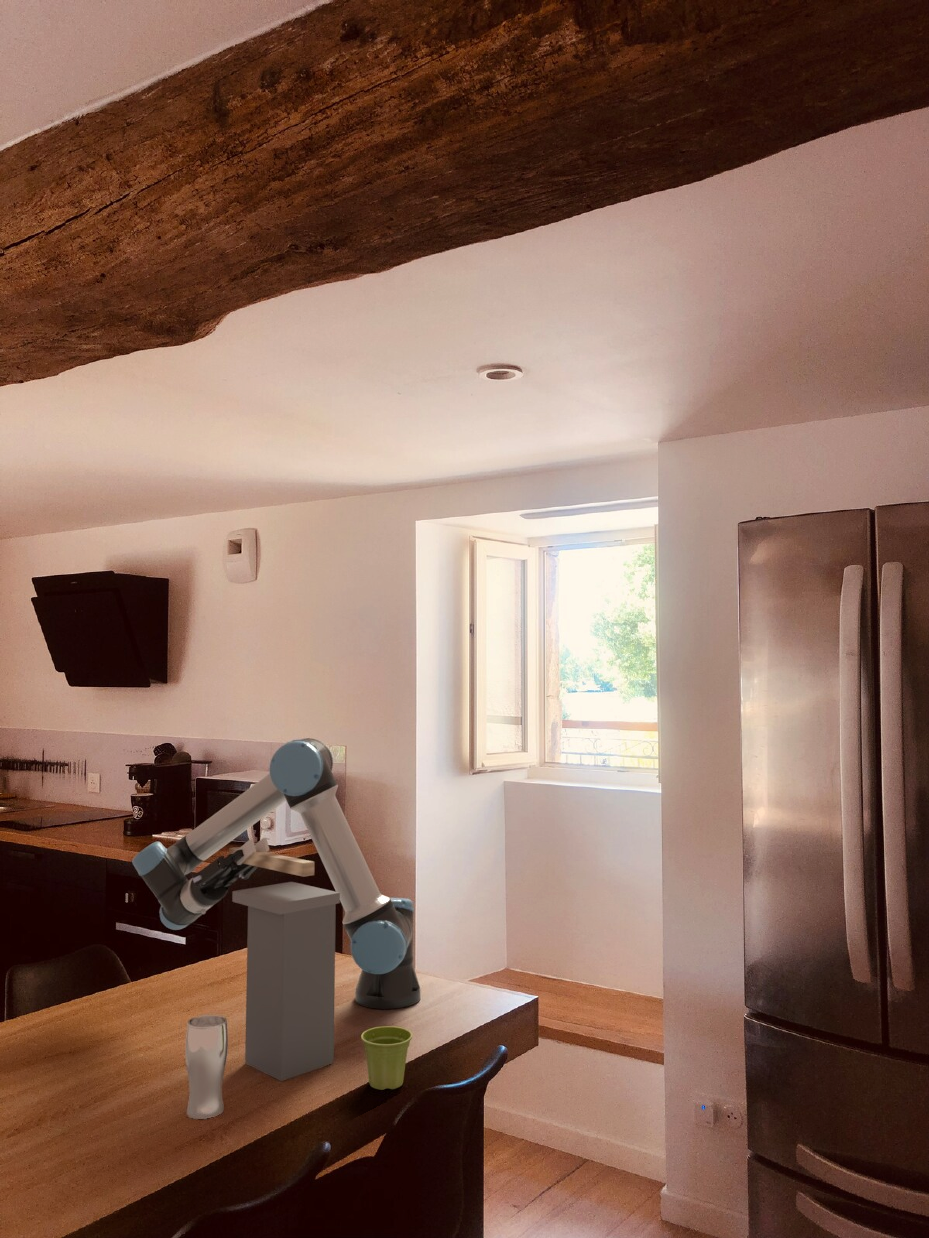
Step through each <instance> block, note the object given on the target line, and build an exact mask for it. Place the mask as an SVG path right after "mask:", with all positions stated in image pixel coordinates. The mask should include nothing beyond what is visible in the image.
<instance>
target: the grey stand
mask: <svg viewBox="0 0 929 1238" xmlns="http://www.w3.org/2000/svg"><path fill="white" fill-rule="evenodd" d="M231 902H233V903H236V904H240V905H243V906H247V940H246V941H247V943H246V944H247V945H246V948H247V950H246V954H247V955H246V992H245V993H246V994H245V995H246V1000H245V1003H246V1004H245V1046H244V1047H245V1048H244V1050H245V1052H244V1054H245V1055H244V1064H245V1065H246V1066H249V1067H251V1068H254V1069H255V1070H258V1071H259V1072H262V1073H263V1074H266V1075H268V1076H270V1077H273V1078H274V1079H276V1080H278V1081H280V1082H282V1081H283V1082H284V1081H286V1080H289V1079H292V1078H295V1077H298V1076H301V1075H303V1074H307V1073H309V1072H313V1071H316V1070H318V1068H319V1069H321V1068H325V1067H327V1065H328V1066H330V1065H329V1064H331V1065H333V1064H335V1063H334V1060H335V1057H334V1056H335V1054H334V1053H335V996H336V995H335V989H336V988H335V983H336V982H335V980H336V911H337V910H336V905H337V904H341V901H340V893H339V892H336V890H335V891H334V890H330V889H326V888H320V887H317V886H311V885H308V884H304V883H299V882H295V881H288V882H281V883H275V884H270V885H269V884H268V885H262V886H257V887H250V888H245V889H244V888H243V889H238V890H232V901H231ZM324 1066H325V1067H324Z"/></svg>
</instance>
